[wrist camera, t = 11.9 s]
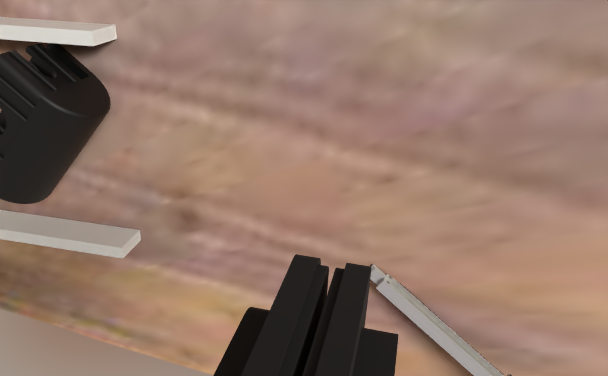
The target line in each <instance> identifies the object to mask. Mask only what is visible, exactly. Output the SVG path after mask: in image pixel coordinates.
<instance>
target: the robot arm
mask: <svg viewBox="0 0 608 376" xmlns="http://www.w3.org/2000/svg"><path fill="white" fill-rule="evenodd" d="M328 275H329V267H328V266H323V265H321V260H320V258H315V257H309V256H303V255H297V254H296V255H295V256H294V258H293V260H292V262H291V265H290V267H289V269H288V271H287V273H286V276H285V278H284V280H283V282H282V285H281V287H280V289H279V291H278V294H277V296H276V298H275V300H274V303H273V305H272V307H271V309H270V310H264V309H259V308H254V307H250V308H248V310H247V311H246V313H245V315H244V316H243V318H242V320H241V322H240V324H239V326H238V328H237V330H236V332H235V334H234V336H233V338H232V340H231V342H230V344H229V346H228V348H227V350H226V352H225V354H224V356H223V358H222V360H221V362H220V364H219V366H218V368H217V370H216V372H215V374H214V376H394V374H395V364H396V354H397V344H398V334H393V333H388V332H383V331H377V330H372V329H367V328H364V326H365V318H366V310H367V302H368V294H369V286H370V278H371V267H369V266H363V265H357V264H351V263H346V266H345V269H340V268H336V269H335V272H334V275H333V278H332V282H331V285H330V288H329V291H328V295H327V287H328Z"/></svg>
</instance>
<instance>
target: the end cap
mask: <svg viewBox="0 0 608 376" xmlns="http://www.w3.org/2000/svg"><path fill="white" fill-rule="evenodd" d="M26 52H27V53H28V54H30V55H31V56H32V58H31V60H30V62H28V61H27V60H26V59H25V58H23V57H22V56H21V55H20V54H19V53H18V52H17V51H15V50H13V51H9V52H6V53H2V54H0V108H1V109H2V111H1V113H0V199H3V200H6V201H8V202H13V203H19V204H31V203H36V202H39V201H42V200H44V199H45V198H47V197H48V196H49V195H50V194H51V192H52V191H53V190H54V188H55V187H56V185H57V184H58V182H59V181H60V180H61V178H62V177H63V175H64V174H65V173H66V171H67V170H68V168H69V167H70V165H71V164H72V163H73V161H74V160H75V158H76V157H77V155H78V154H79V153H80V151H81V150H82V148H83V147H84V146H85V144H86V143H87V141H88V140H89V138H90V137H91V136H92V134H93V133H94V131H95V130H96V128H97V127H98V126H99V124H100V123H101V121H102V120H103V119H104V117H105V116H106V114H107V113H108V111H109V109H110V97H109V94H108V92H107V90H106V88H105V87H104V85H103V84H102V83H101V82H100V80H99V79H98V78H97V77H96V76H95V75H94V74H93V73H91V72H90V71H89V70H88V69H87V68H86V67H85V66H84V65H82V64H81V63H80V62H79V61H78V60H77V59H76V58H75V57H74V56H72V55H71V54H70V53H69V52H68V51H67V50H66V49H65V48H63V47H62V46H61V45H60V44H57V43H52V44H49V45H47V46H46V48H45V47H44V46H43V45H42V44H35V45H32V46H28V47H27V49H26Z"/></svg>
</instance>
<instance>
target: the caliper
mask: <svg viewBox="0 0 608 376" xmlns="http://www.w3.org/2000/svg"><path fill="white" fill-rule="evenodd" d="M370 279H371V280H372V281H373V282H374V283H375V284H377V286H376V289H377V290H378V291H379V292H381V293H382V294H383V295H384V296H385V297H386V298H387V299H388V300H390V301H391V302H392V303H393V304H394V305H395V306H396V307H397V308H398V309H400V310H401V311H402V312H403V313H404V314H405V315H406V316H407V317H409V318H410V319H411V320H412V321H413V322H414V323H415V324H416V325H417V326H419V327H420V328H421V329H422V330H423V331H424V332H425V333H426V334H428V335H429V336H430V337H431V338H432V339H433V340H434V341H435V342H437V343H438V344H439V345H440V346H441V347H442V348H443V349H444V350H446V351H447V352H448V353H449V354H450V355H451V356H452V357H453V358H455V359H456V360H457V361H458V362H459V363H460V364H461V365H462V366H464V367H465V368H466V369H467V370H468V371H469V372H470V373H471V374H473V375H474V376H504V375H503V374H502V373H501V372H500V371H498V370H497V369H496V368H495V367H494V366H493V365H492V364H490V363H489V362H488V361H487V360H486V359H485V358H484V357H483V356H481V355H480V354H479V353H478V352H477V351H476V350H475V349H473V348H472V347H471V346H470V345H469V344H468V343H467V342H466V341H464V340H463V339H462V338H461V337H460V336H459V335H458V334H457V333H455V332H454V331H453V330H452V329H451V328H450V327H449V326H447V325H446V324H445V323H444V322H443V321H442V320H441V319H440V318H439V317H437V316H436V315H435V314H434V313H433V312H432V311H431V310H430V309H428V308H427V307H426V306H425V305H424V304H423V303H422V302H421V301H419V300H418V299H417V298H416V297H415V296H414V295H413V294H412V293H410V292H409V291H408V290H407V289H406V288H405V287H404V286H403V285H401V284H400V283H399V282H397V281H396V280H395V279H393V278H392V277H391V276H389V275H388V274H386V275H385V274H384V273H383V272H382V271H381V270H380V269H379V268H378V267H376V266H375V265H374V264H372V266H371V278H370ZM507 376H512V375H510V374H509V375H507Z"/></svg>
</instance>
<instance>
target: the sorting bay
mask: <svg viewBox="0 0 608 376" xmlns="http://www.w3.org/2000/svg"><path fill="white" fill-rule="evenodd" d="M0 39H5V40H18V41H31V42H44V43H57V44H70V45H83V46H96V45H99V44H102V43H105V42H109V41H112V40H115V39H117V35H116V27H115V25H114V24H99V23H84V22H69V21H55V20H40V19H25V18H10V17H0ZM0 239H3V240H9V241H15V242H22V243H28V244H34V245H41V246H47V247H53V248H60V249H66V250H72V251H79V252H85V253H91V254H98V255H104V256H110V257H117V258H124V257H125V256H126V255H127V254H128V253H129V252H130V251H131V250H132V249H133V248H134V247H135V246H136V245H137V244H138V243H139V242H140V241H141V236H140V230H136V229H129V228H122V227H116V226H109V225H102V224H95V223H88V222H81V221H74V220H68V219H61V218H54V217H47V216H40V215H33V214H27V213H20V212H13V211H6V210H0Z"/></svg>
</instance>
